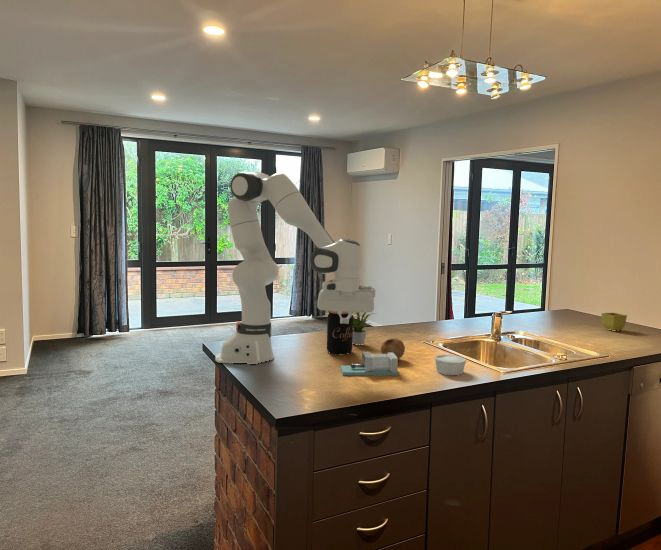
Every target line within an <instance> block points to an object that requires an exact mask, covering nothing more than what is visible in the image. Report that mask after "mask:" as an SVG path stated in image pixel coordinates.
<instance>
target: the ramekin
mask: <svg viewBox="0 0 661 550" xmlns="http://www.w3.org/2000/svg"><path fill="white" fill-rule="evenodd" d="M434 362H435V369H436V371H437V373H439V374H441V375H444V376H449V375H458V376H461V375H462V374H463V373H464V371H465V365H466V363H467V360H466V358H464V357H462V356H459V355H455V354H438V355H436V356H435V357H434ZM460 374H461V375H460Z"/></svg>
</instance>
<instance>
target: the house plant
mask: <svg viewBox="0 0 661 550" xmlns="http://www.w3.org/2000/svg"><path fill="white" fill-rule="evenodd" d="M355 313H356V318H355V317H354V316H353V341H352V343H353V344H358V345H359V344H360V345H361V344H364V345H365V341H366V335H367V330H366V329H364V328H367V327H368V328H369V327H371V326H370V325H372V323H367V321H368V318H369V317H371V315H374V314H376V313H375V312H374V313H373V312H371V313H368V312H363V313H362V316H360V312H355ZM367 313H368V314H367Z"/></svg>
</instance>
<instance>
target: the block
mask: <svg viewBox="0 0 661 550" xmlns="http://www.w3.org/2000/svg"><path fill="white" fill-rule="evenodd" d="M371 354H372V356H373V357H374V370H389V365H390V356H389V355H388V354H382V353H371Z"/></svg>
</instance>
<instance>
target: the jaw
mask: <svg viewBox="0 0 661 550" xmlns="http://www.w3.org/2000/svg"><path fill="white" fill-rule="evenodd" d="M361 354H362V355H361V363H351V364H350V366H351V368H364V370H365V371H372V370H374V357H373V356H372V354H373V353H372V352H370V351H362V352H361Z"/></svg>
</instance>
